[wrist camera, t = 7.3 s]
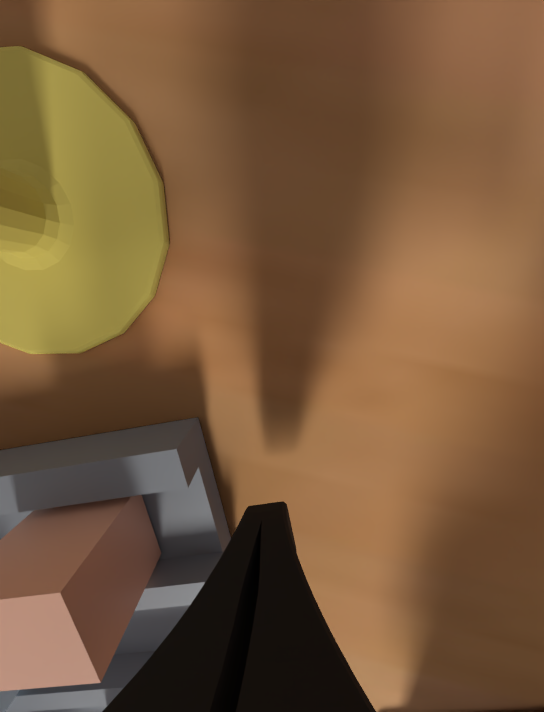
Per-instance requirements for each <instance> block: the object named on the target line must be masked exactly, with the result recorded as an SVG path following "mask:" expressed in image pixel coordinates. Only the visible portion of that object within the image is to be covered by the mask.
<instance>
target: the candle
mask: <svg viewBox="0 0 544 712" xmlns="http://www.w3.org/2000/svg"><path fill="white" fill-rule="evenodd" d="M169 244H170V243H169V233H168V223H167V213H166V203H165V193H164V183H163V181H162V179H161V177H160V175H159V173H158V171H157V169H156V166H155V164H154V162H153V160H152V158H151V156H150V154H149V152H148V150H147V147H146V145H145V143H144V141H143V139H142V137H141V135H140V133H139V131H138V128H137V126H136V124H135V123H134V122H133V121H132V120H131V119H130V118H129V117H128V116H127V115H126V114H125V113H124V112H123V111H122V110H121V109H120V108H119V107H118V106H117V105H116V104H115V103H114V102H113V101H112V100H111V99H110V98H109V97H108V96H107V95H106V94H105V93H104V92H103V91H102V90H101V89H100V88H99V87H98V86H97V85H96V84H95V83H94V82H93V81H92V80H91V79H90V78H89V77H88V76H87V75H86V74H85V73H84V72H82V71H80V70H77V69H75V68H73V67H70V66H68V65H65V64H63V63H61V62H58V61H56V60H53V59H51V58H49V57H46V56H44V55H41V54H39V53H37V52H34V51H32V50H29V49H27V48H25V47H22V46H12V47H0V343H2V344H5V345H8V346H10V347H13V348H16V349H18V350H21V351H24V352H26V353H29V354H67V353H82V352H85V351H87V350H89V349H91V348H93V347H95V346H97V345H100V344H102V343H104V342H106V341H108V340H110V339H112V338H114V337H117V336H119V335H121V334H123V333H125V332H126V330H127V329H128V328H129V327H130V326H131V324H132V323H133V322H134V321H135V319H136V318H137V317H138V316H139V315H140V313H141V312H142V311H143V310H144V309H145V307H146V306H147V305H148V304H149V302H150V301H151V300H152V299H153V298H154V296H155V294H156V291H157V287H158V284H159V280H160V276H161V273H162V269H163V266H164V262H165V258H166V255H167V251H168V248H169Z"/></svg>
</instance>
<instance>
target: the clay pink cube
mask: <svg viewBox="0 0 544 712" xmlns="http://www.w3.org/2000/svg"><path fill="white" fill-rule="evenodd" d="M160 556H161V550H160V548H159V545H158V542H157V539H156V536H155V533H154V530H153V527H152V524H151V521H150V518H149V515H148V512H147V509H146V506H145V503H144V501H143V498H142V495H137V496H130V497H123V498H116V499H109V500H102V501H95V502H88V503H81V504H75V505H68V506H61V507H54V508H47V509H40V510H34V511H33V512H31V513H30V514H29V515H28V516H27V517H26V518H25V519H23V520H22V521H21V522H20V523H19V524H18V525H17V526H15V527H14V528H13V529H12V530H11V531H10V532H9V533H7V534H6V535H5V536H4V537H3V538H2V539H1V540H0V691H10V690H22V689H34V688H46V687H58V686H69V685H81V684H93V683H101V681H102V679H103V677H104V675H105V673H106V671H107V668H108V666H109V664H110V662H111V660H112V658H113V656H114V654H115V651H116V649H117V647H118V645H119V643H120V641H121V639H122V636H123V634H124V632H125V630H126V628H127V626H128V624H129V622H130V619H131V617H132V615H133V613H134V611H135V609H136V607H137V605H138V602H139V600H140V598H141V596H142V594H143V592H144V590H145V587H146V585H147V583H148V581H149V579H150V577H151V575H152V573H153V570H154V568H155V566H156V564H157V562H158V560H159V558H160Z"/></svg>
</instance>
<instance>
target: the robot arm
mask: <svg viewBox="0 0 544 712" xmlns="http://www.w3.org/2000/svg"><path fill="white" fill-rule="evenodd" d="M102 712H376V711H375V709H374V708H373V706H372V704H371V703H370V701H369V699H368V698H367V696H366V694H365V693H364V691H363V689H362V687H361V686H360V684H359V682H358V681H357V679H356V677H355V675H354V674H353V672H352V670H351V668H350V666H349V665H348V663H347V661H346V659H345V657H344V655H343V654H342V652H341V650H340V648H339V646H338V644H337V643H336V641H335V639H334V637H333V635H332V633H331V631H330V629H329V627H328V625H327V623H326V621H325V619H324V617H323V615H322V613H321V611H320V609H319V607H318V605H317V602H316V600H315V598H314V596H313V594H312V591H311V589H310V587H309V584H308V582H307V580H306V577H305V575H304V572H303V570H302V567H301V564H300V562H299V559H298V556H297V553H296V546H295V541H294V536H293V532H292V527H291V522H290V518H289V513H288V508H287V504H286V503H284V502H276V503H268V504H261V505H253V506H248V508H247V509H246V511H245V513H244V515H243V517H242V519H241V521H240V523H239V525H238V527H237V529H236V530H235V532H234V534H233V536H232V538H231V540H230V542H229V543H228V545H227V547H226V549H225V550H224V552H223V554H222V556H221V557H220V559H219V561H218V563H217V564H216V566H215V568H214V569H213V571H212V572H211V574H210V575H209V577H208V579H207V580H206V582H205V583H204V585H203V587H202V588H201V590H200V591H199V593H198V594H197V596H196V597H195V599H194V600H193V602H192V603H191V604H190V606H189V607H188V609H187V610H186V612H185V613H184V614H183V616H182V617H181V618H180V620H179V621H178V622H177V624H176V625H175V626H174V628H173V629H172V630H171V632H170V633H169V634H168V636H167V637H166V638H165V639H164V641H163V642H162V643H161V644H160V646H159V647H158V648H157V649H156V651H155V652H154V653H153V654H152V656H151V657H150V658H149V659H148V660H147V662H146V663H145V664H144V665H143V666H142V668H141V669H140V670H139V671H138V672H137V674H136V675H135V676H134V677H133V678H132V679H131V680H130V681H129V682H128V684H127V685H126V686H125V687H124V688H123V689H122V690H121V691H120V692H119V694H118V695H117V696H116V697H115V698H114V699H113V700H112V701H111V702H110V704H109V705H108V706H107V707H106V708H105V709H104V710H103V711H102Z"/></svg>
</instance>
